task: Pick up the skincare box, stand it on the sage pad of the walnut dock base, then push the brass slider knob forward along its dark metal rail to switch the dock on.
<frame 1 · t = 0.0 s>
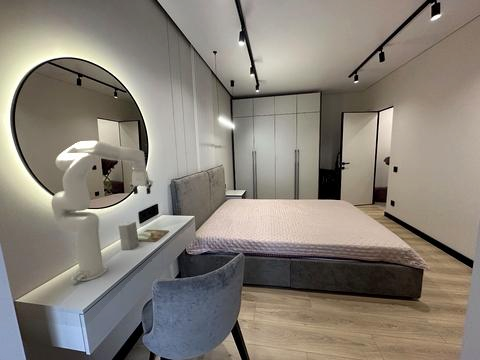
hand: (142, 193, 143), 31 cm above the table, tool pointing down, fingers open, 9 cm apart
slider knob: (154, 234, 141), point 4 cm above the table, slide at 0.0 cm
dock base: (151, 236, 148), on the table
skincare box: (130, 247, 132), on the table
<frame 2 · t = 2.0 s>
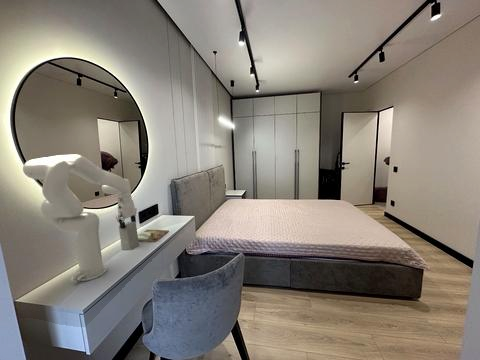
hand: (128, 225, 131), 14 cm above the table, tool pointing down, fingers open, 9 cm apart
skincare box: (130, 247, 132), on the table, touching gripper
everything else where it was.
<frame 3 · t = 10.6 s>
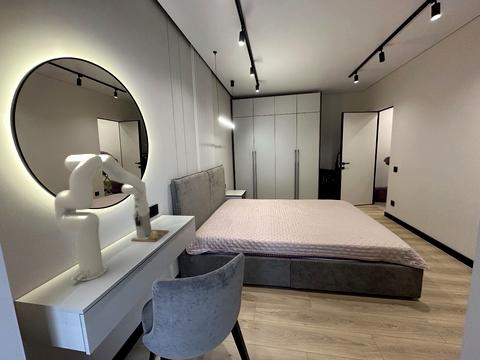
hand: (142, 223, 145), 10 cm above the table, tool pointing down, fingers open, 9 cm apart
skincare box: (144, 235, 147), point 1 cm above the table, touching dock base
everything else where it was.
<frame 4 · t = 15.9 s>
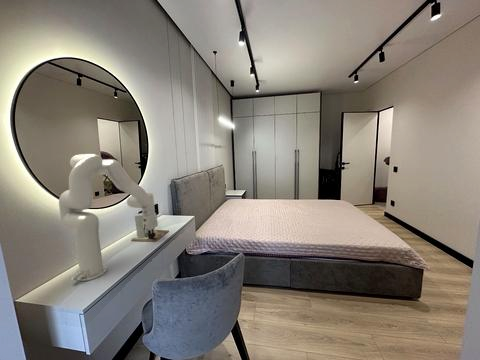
hand: (151, 238, 138), 3 cm above the table, tool pointing down, fingers closed
slider knob: (154, 234, 141), point 4 cm above the table, slide at 0.7 cm, touching gripper
everything else where it was.
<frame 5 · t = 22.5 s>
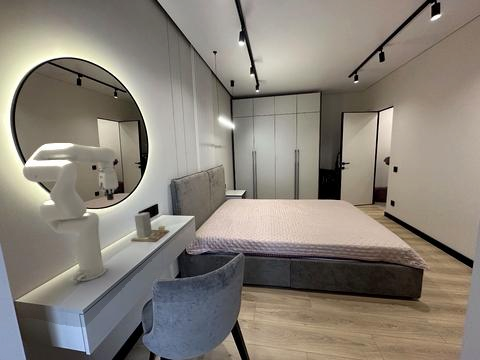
hand: (110, 199, 129), 31 cm above the table, tool pointing down, fingers closed
slider knob: (161, 229, 150), point 4 cm above the table, slide at 9.9 cm
everything else where it was.
at the end: skincare box inside the target area (0.0 cm from its centre), point 1.2 cm above the table; skincare box tilted 0°; slider knob slide at 9.9 cm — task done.
